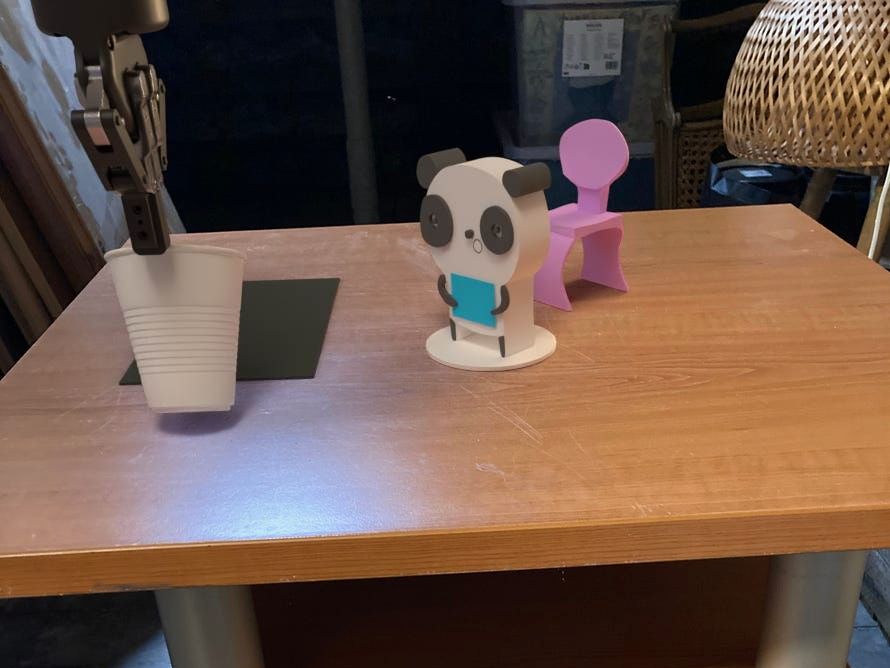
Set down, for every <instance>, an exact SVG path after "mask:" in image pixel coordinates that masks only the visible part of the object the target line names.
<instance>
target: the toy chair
mask: <svg viewBox="0 0 890 668" xmlns="http://www.w3.org/2000/svg"><path fill="white" fill-rule="evenodd" d="M558 150H559V159H560V164H561V168H562V174H563V175H564V176H565V177H566V178H567V179H568V180H569V181H570V182H571V183H573V184H574V185H575V186H576V187H577V203H575V202H572V203H568V204H565V205H562V206H559V207H556V208H554V209H550V210H548V213H549V220H550V245H549V250H548V254H547V257H546V259H545V261H544V263H543V265H542V267H541V268H540V269H539V271H538V272H536V273H535V274H534V301H536V302H540V303H542V304H546V305H548V306H551V307H555V308H558V309H561V310H564V311H567V312H572V311H573V307H572V306H571V303H570V301H569V297H568V295H567V293H566V289H565V285H564V277H563V276H564V268H565V265H566V262H567V260H568V257H569V256H570V254H571V252H572V249H573V247H574V245H575V243H576V242H578V240H581V245H582V250H583V253H582V254H583V256H582V257H583V258H582V265H581V271H580V279H582V280H585V281H589V282H592V283H596V284H598V285H603V286H605V287H608V288H612V289H615V290H619V291H622V292H629V291H630V289H629V286H628V283H627V281H626V278H625V275H624V272H623V268H622V264H621V249H622V248H621V247H622V243H623V239H624V236H625V235H624V234H625V228H624V225H623V218H624V217H623V214H621V213H617V212H612V211H607V207H608V200H609V193H610V186H611V185H612V184H613V183H614V181H615V180H617V179H619V178H620V177H621V176H622V175H623V174H624V172H625V171H626V170H627V167H628V166H629V161H630V151H629V147H628V144H627V141H626V139H625V136H624V135H623V134H622V132H621V131H620V130H619V128H618V127H617V125H616V124H614V123H613V122H612V121H609V120H606V119H601V118H592V119H586V120H582V121H580V122H578V123H575V124H574V125H572V126H571V127H569V128H567V129H566V131H564V132H563V134H562V136H561V138H560V140H559V149H558Z"/></svg>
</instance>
